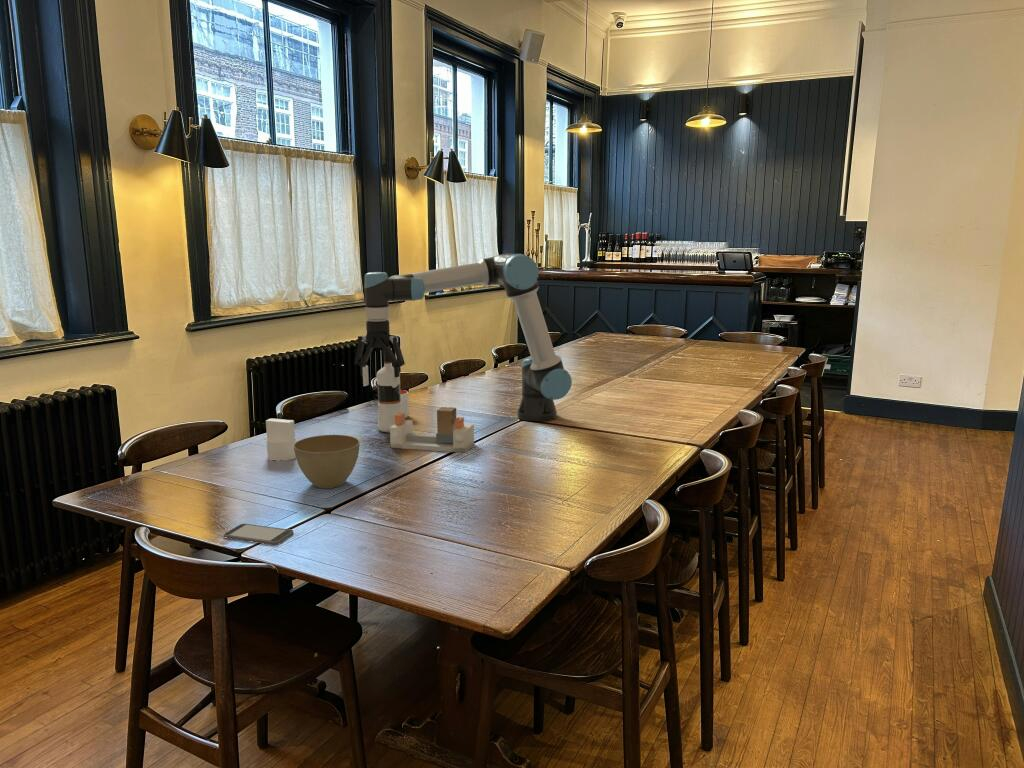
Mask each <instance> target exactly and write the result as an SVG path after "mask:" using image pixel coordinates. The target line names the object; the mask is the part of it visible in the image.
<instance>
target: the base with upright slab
mask: <svg viewBox="0 0 1024 768" xmlns="http://www.w3.org/2000/svg"><path fill="white" fill-rule="evenodd" d="M265 428H266V450H267V451H266V452H267V459H268V460H269V459H270V460H269V461H272V460H276V461H275V462H281V461H280V460H285V461H290V460H293V459H296V456H295V452H294V444H295V443H296V442H297V439H296V429H295V420H293V419H284V418H283V419H282V418H268V419H266V420H265ZM289 459H290V460H289Z"/></svg>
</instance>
